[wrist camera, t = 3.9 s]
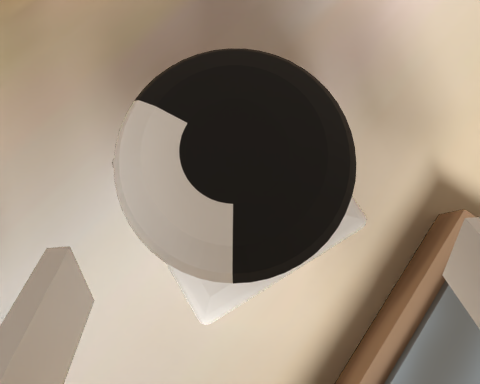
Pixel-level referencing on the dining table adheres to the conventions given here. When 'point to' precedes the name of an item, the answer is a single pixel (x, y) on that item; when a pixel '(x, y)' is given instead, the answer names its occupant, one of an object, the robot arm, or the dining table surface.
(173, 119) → the container
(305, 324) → the dining table surface
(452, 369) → the wooden framed tray
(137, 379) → the dining table surface
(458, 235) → the robot arm
